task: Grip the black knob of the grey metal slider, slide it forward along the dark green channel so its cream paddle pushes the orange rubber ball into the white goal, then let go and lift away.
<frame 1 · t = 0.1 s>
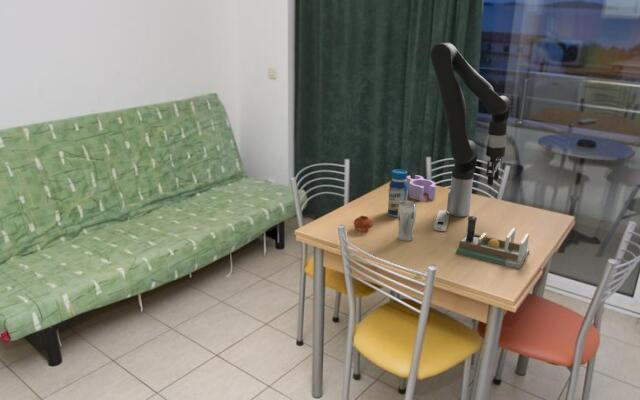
hand: (492, 182, 222), 17 cm above the table, tool pointing down, fingers open, 8 cm apart
clip: (419, 194, 259), on the table
slider: (475, 231, 197), point 7 cm above the table, slide at 0.0 cm
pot: (362, 231, 215), on the table
ball: (493, 244, 195), point 3 cm above the table, touching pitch
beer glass: (405, 239, 208), on the table
beverage bottle: (396, 214, 233), on the table
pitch: (492, 252, 196), on the table
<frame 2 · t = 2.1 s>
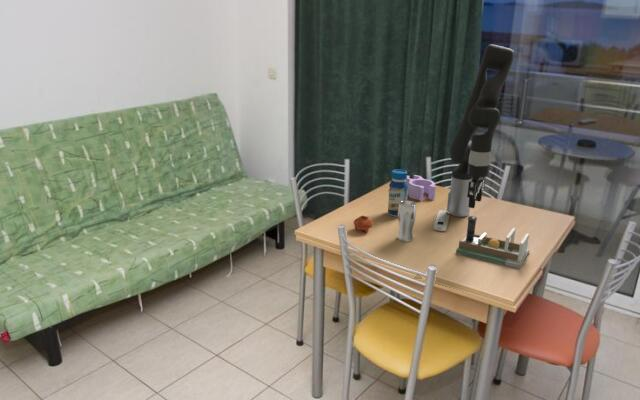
hand: (474, 204, 194), 18 cm above the table, tool pointing down, fingers open, 8 cm apart
nothing on the table moved.
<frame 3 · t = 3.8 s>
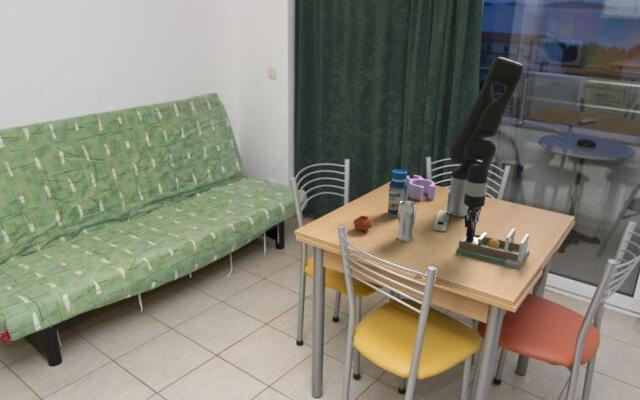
hand: (470, 235, 199), 5 cm above the table, tool pointing down, fingers closed on slider, 3 cm apart
slider: (475, 231, 197), point 7 cm above the table, slide at 0.0 cm, touching gripper
everything else where it was.
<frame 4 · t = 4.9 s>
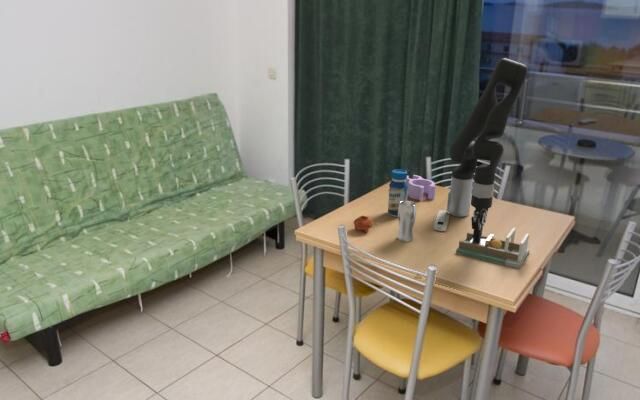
hand: (477, 236, 197), 5 cm above the table, tool pointing down, fingers closed on slider, 3 cm apart
slider: (482, 232, 196), point 7 cm above the table, slide at 2.6 cm, touching gripper
ball: (496, 244, 194), point 3 cm above the table, tilted 26°, touching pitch
everything else where it was.
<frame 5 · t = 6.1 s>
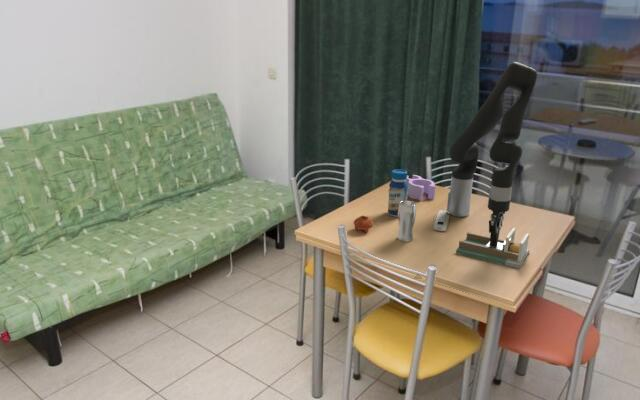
hand: (494, 240, 194), 5 cm above the table, tool pointing down, fingers closed on slider, 3 cm apart
slider: (499, 236, 193), point 7 cm above the table, slide at 8.9 cm, touching gripper
ball: (515, 249, 191), point 3 cm above the table, tilted 135°, touching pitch
everything else where it was.
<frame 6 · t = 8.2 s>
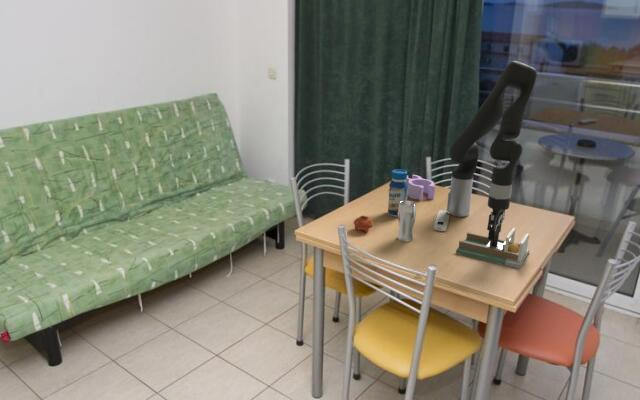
hand: (494, 235, 194), 7 cm above the table, tool pointing down, fingers open, 8 cm apart
slider: (499, 236, 193), point 7 cm above the table, slide at 9.0 cm
ball: (513, 248, 191), point 3 cm above the table, tilted 156°, touching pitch
everything else where it was.
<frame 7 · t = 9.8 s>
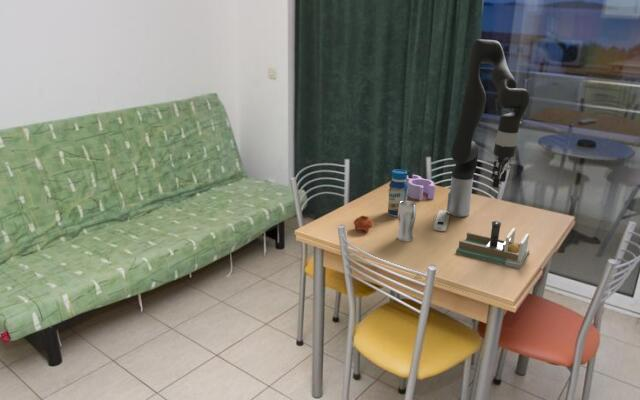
hand: (498, 184, 198), 24 cm above the table, tool pointing down, fingers open, 8 cm apart
nothing on the table moved.
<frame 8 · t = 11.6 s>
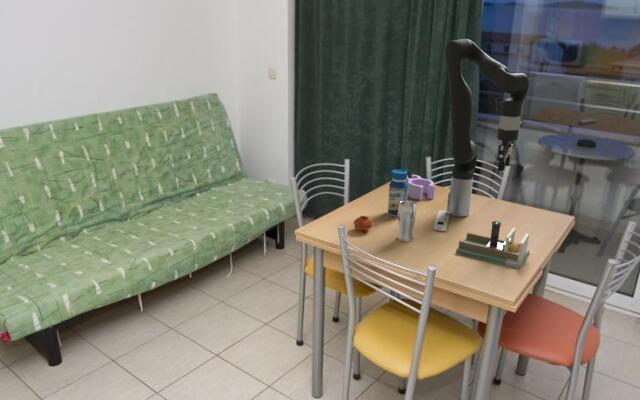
hand: (503, 168, 203), 28 cm above the table, tool pointing down, fingers open, 8 cm apart
at the end: ball 1.1 cm from the target spot, point 3.5 cm above the table; slider slide at 9.0 cm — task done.
